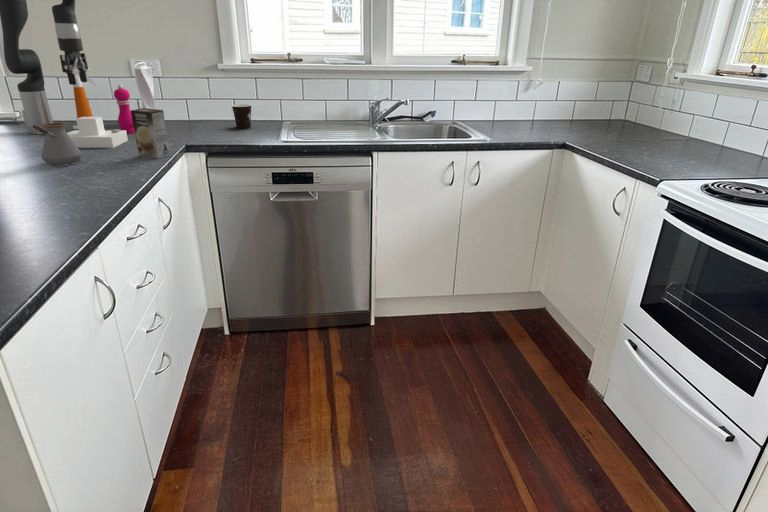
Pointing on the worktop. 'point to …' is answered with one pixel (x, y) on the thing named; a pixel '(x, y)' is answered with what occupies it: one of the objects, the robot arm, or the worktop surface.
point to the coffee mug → (242, 115)
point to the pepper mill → (124, 110)
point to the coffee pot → (58, 145)
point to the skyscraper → (145, 86)
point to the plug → (90, 125)
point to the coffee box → (150, 133)
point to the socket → (99, 139)
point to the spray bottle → (81, 96)
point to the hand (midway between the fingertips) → (78, 83)
